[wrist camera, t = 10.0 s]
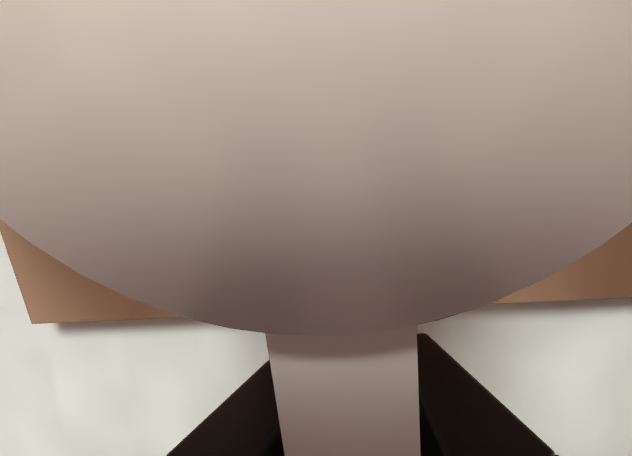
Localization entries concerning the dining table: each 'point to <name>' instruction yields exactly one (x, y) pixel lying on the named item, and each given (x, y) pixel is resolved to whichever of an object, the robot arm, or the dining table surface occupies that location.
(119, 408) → the dining table surface
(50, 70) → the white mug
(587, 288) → the dock
